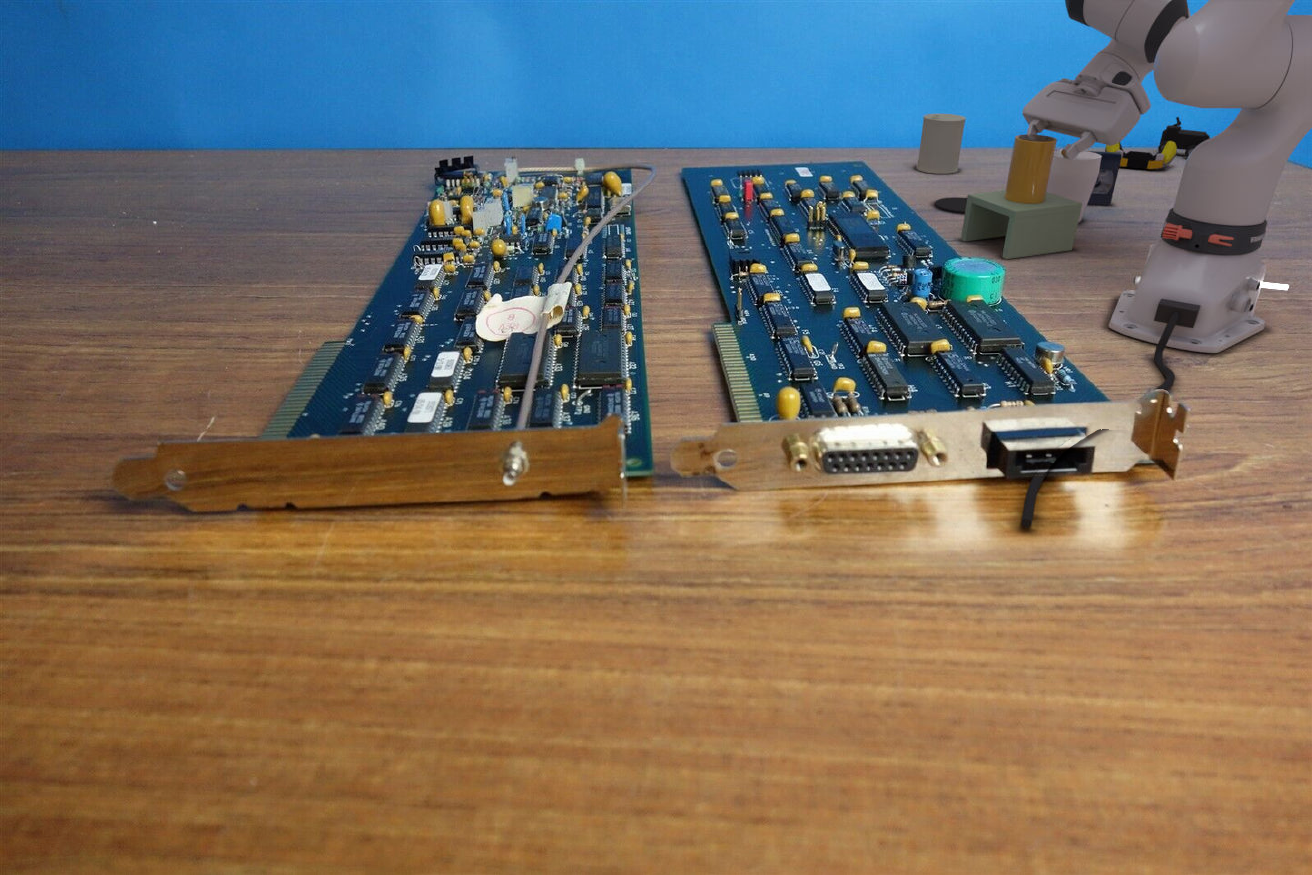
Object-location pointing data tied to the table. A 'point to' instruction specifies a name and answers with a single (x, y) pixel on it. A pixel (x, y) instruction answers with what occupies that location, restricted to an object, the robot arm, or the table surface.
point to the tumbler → (1030, 168)
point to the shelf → (1022, 223)
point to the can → (940, 143)
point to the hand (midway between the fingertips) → (1044, 151)
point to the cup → (1074, 177)
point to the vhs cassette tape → (1105, 178)
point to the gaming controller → (1145, 156)
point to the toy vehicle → (1182, 137)
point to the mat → (952, 204)
